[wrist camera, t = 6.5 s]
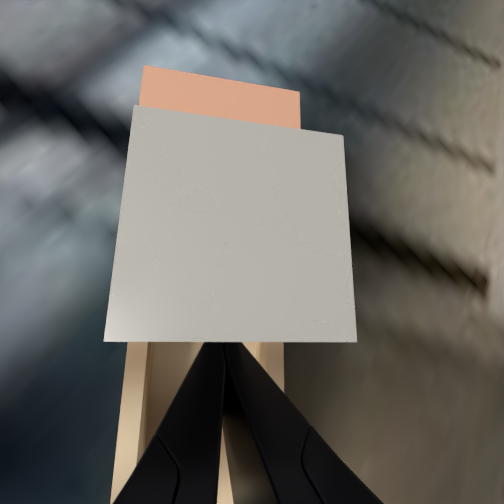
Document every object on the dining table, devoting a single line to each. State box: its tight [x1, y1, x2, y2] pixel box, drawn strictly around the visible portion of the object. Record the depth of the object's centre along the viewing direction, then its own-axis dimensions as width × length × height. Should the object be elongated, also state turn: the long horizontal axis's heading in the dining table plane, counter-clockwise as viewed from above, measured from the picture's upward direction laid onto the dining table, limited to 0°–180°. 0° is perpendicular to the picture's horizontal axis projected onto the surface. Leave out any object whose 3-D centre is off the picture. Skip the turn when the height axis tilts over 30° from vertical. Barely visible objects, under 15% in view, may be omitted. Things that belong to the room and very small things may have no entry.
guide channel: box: [110, 342, 284, 504], centre depth 15 cm, size 19×7×3 cm, turn 179°
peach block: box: [139, 65, 300, 129], centre depth 15 cm, size 6×7×5 cm
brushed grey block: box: [104, 105, 357, 342], centre depth 11 cm, size 9×4×10 cm, turn 179°
